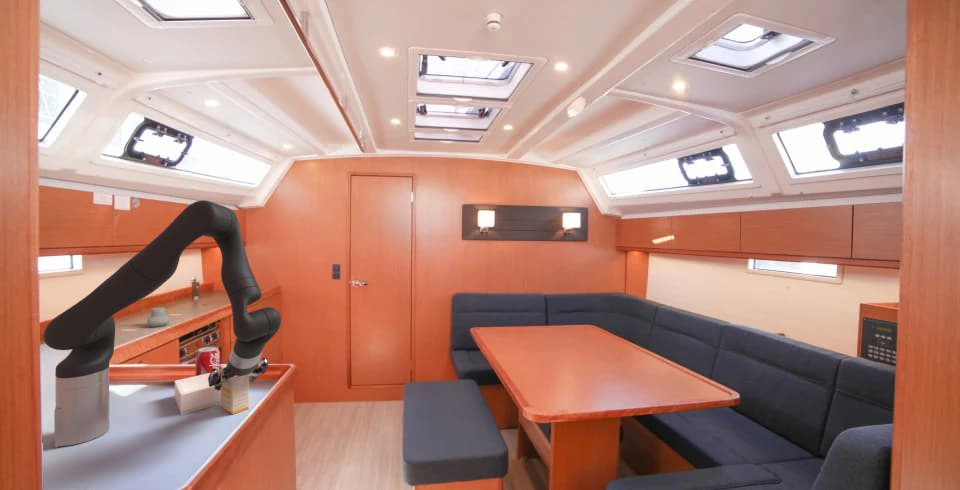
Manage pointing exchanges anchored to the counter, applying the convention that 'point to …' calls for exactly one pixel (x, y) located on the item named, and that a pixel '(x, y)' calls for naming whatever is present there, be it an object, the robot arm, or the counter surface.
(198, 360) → the soda can
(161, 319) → the air freshener
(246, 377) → the supplement box
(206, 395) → the bin
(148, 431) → the counter surface
